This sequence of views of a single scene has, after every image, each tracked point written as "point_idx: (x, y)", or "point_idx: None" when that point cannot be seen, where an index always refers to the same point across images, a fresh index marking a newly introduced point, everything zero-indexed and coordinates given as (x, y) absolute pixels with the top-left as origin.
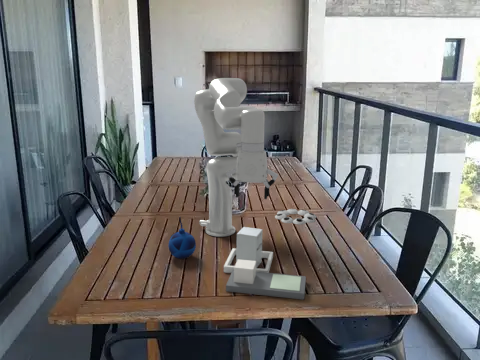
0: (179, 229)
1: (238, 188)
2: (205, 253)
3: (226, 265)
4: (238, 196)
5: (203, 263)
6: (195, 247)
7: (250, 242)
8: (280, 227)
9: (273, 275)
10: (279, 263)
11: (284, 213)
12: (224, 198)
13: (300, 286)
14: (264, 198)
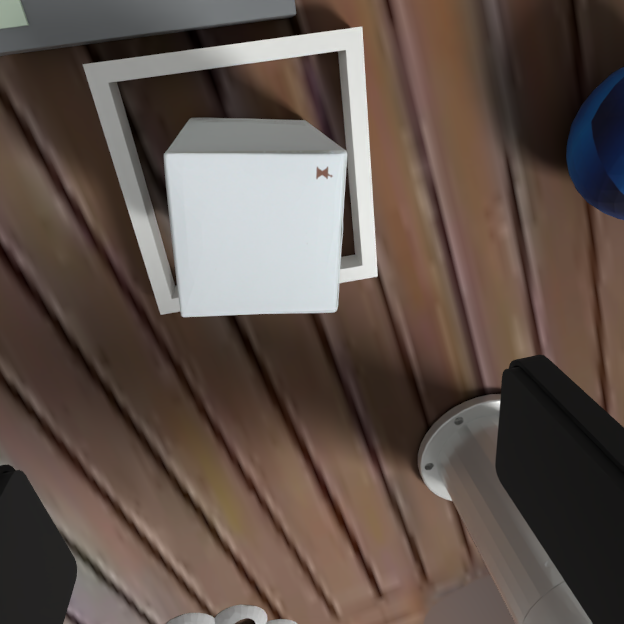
0: None
1: (604, 522)
2: (498, 218)
3: (349, 46)
4: (502, 403)
5: (485, 101)
6: (575, 159)
7: (220, 139)
8: (246, 566)
9: (16, 3)
10: (103, 250)
11: None
12: (562, 587)
13: None
14: (9, 474)
